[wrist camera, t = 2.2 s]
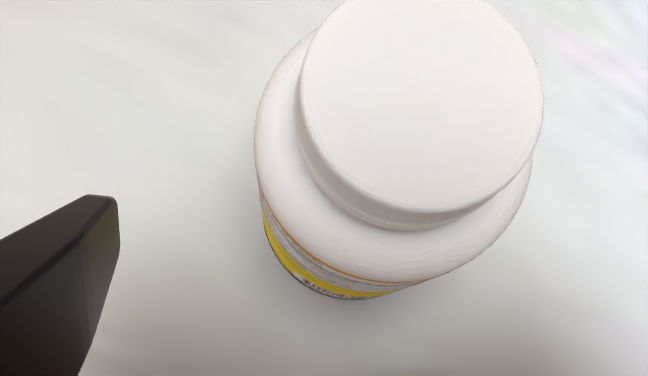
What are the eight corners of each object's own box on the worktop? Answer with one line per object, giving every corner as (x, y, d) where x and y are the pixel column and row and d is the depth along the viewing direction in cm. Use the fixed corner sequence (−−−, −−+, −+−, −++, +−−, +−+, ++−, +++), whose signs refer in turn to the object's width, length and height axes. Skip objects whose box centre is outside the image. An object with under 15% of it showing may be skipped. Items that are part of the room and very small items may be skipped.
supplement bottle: (384, 105, 20) (490, -112, 10) (464, 254, 19) (664, 171, 9) (232, 173, 19) (189, 5, 9) (307, 333, 18) (348, 333, 8)
